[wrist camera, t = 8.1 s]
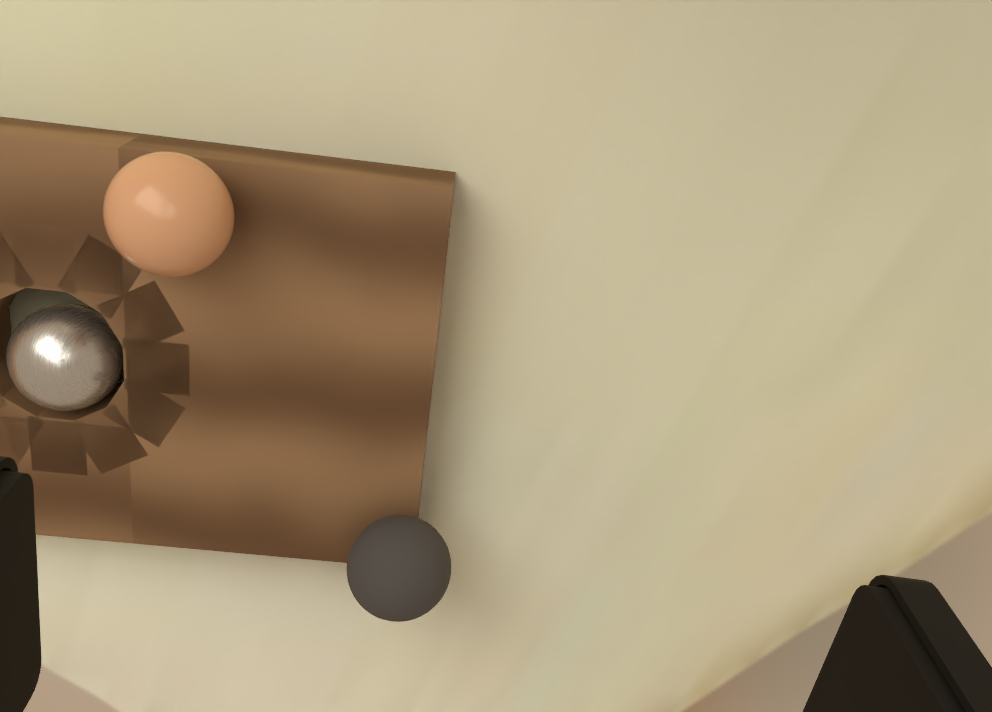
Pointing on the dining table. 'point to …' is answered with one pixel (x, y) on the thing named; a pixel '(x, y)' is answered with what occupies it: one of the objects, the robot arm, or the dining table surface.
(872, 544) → the dining table surface
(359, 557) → the black ball
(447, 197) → the board
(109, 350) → the steel ball
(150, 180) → the terracotta ball
